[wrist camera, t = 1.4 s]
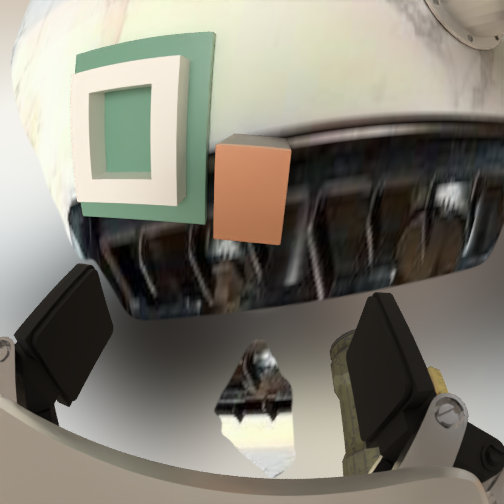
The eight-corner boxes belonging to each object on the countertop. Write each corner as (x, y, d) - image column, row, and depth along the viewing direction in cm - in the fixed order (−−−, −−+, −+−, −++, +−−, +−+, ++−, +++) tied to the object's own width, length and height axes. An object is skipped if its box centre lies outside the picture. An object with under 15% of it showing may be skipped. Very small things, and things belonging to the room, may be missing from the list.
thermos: (321, 372, 41) (329, 583, 11) (338, 319, 36) (368, 595, 5) (371, 370, 41) (400, 566, 10) (395, 319, 35) (457, 560, 5)
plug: (234, 133, 26) (215, 145, 18) (286, 138, 25) (291, 151, 17) (230, 200, 29) (213, 238, 21) (278, 204, 29) (280, 245, 21)
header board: (81, 55, 21) (60, 53, 17) (215, 34, 20) (206, 23, 17) (87, 212, 31) (69, 225, 27) (207, 220, 30) (198, 236, 27)
